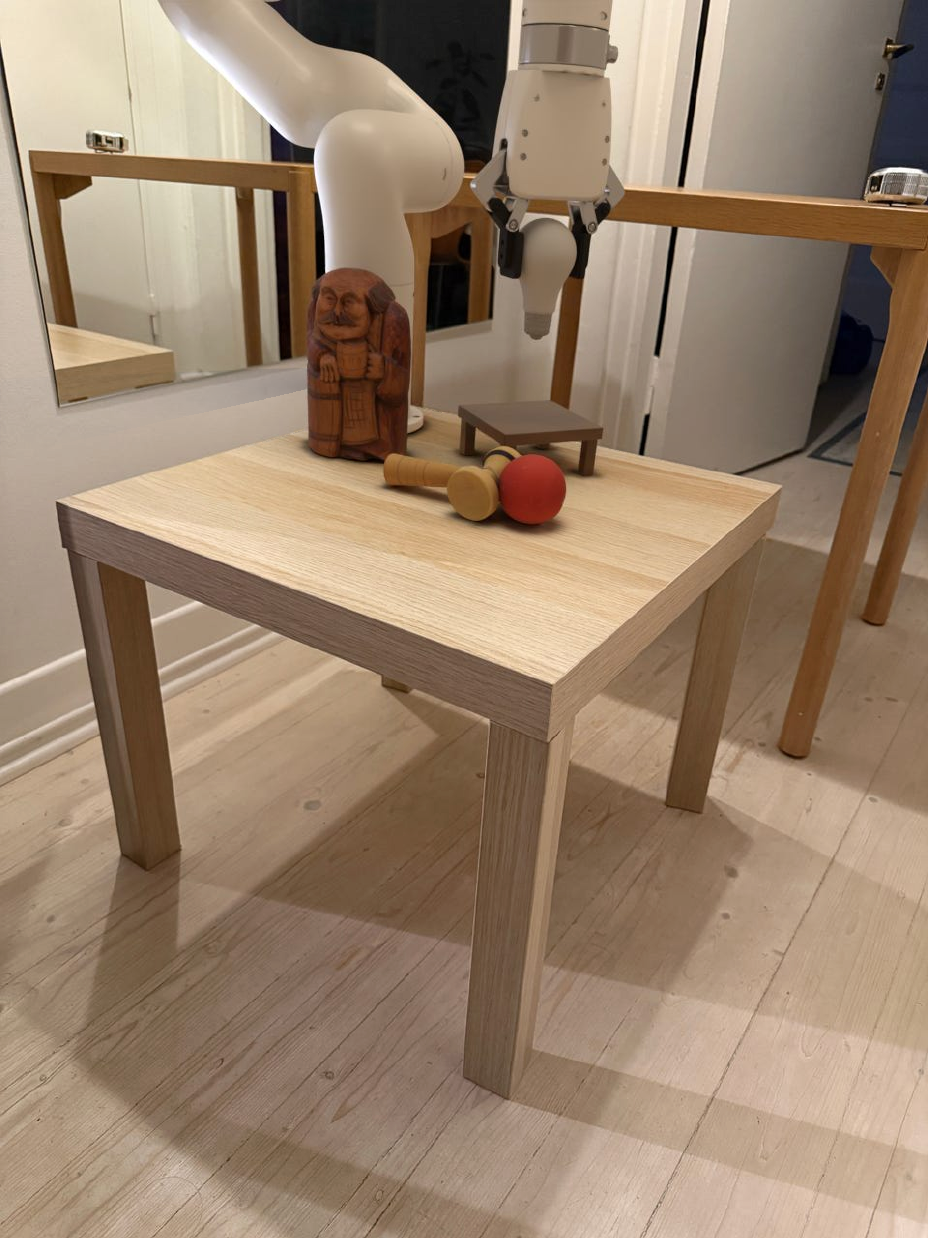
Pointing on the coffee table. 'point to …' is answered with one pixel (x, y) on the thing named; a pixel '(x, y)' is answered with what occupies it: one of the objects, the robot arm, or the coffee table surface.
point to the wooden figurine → (357, 367)
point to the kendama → (489, 484)
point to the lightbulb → (544, 271)
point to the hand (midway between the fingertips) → (541, 275)
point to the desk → (530, 427)
